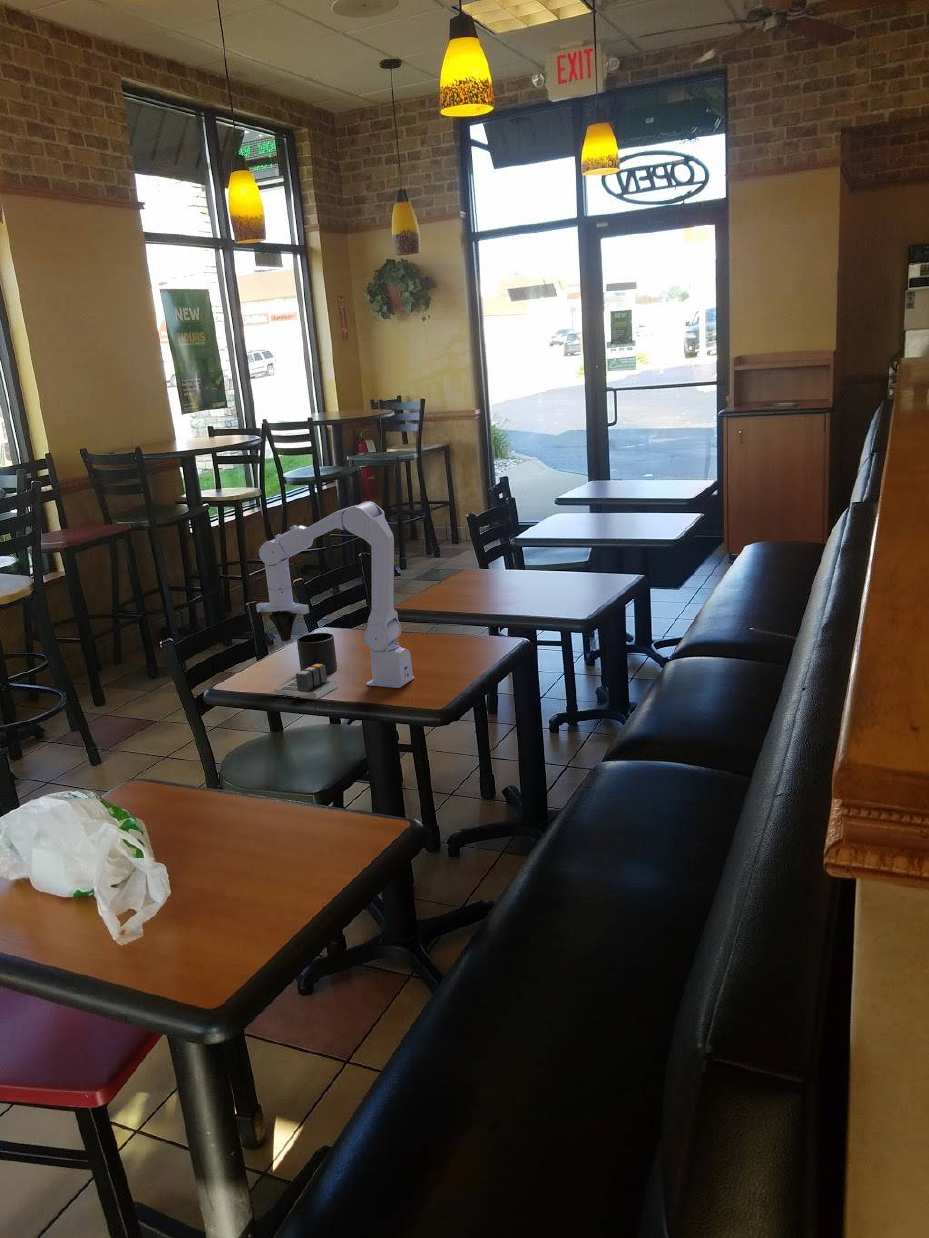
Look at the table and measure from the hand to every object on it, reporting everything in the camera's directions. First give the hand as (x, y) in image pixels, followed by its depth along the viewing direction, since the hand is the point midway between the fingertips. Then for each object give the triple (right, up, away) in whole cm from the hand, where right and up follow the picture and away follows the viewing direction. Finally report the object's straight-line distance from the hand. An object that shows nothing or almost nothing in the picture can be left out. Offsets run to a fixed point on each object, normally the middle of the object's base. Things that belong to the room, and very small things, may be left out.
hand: (286, 640), depth 241 cm
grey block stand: (+6, -12, -8) cm, 16 cm away
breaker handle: (+9, -10, -7) cm, 15 cm away
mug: (+7, -8, +9) cm, 14 cm away
